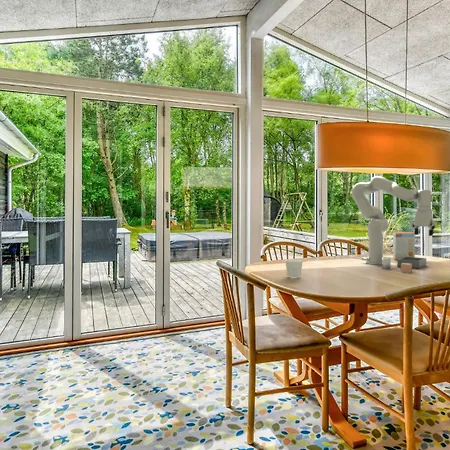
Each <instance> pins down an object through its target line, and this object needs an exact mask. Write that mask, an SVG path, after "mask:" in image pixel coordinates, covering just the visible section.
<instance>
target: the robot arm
mask: <svg viewBox="0 0 450 450" xmlns="http://www.w3.org/2000/svg"><path fill="white" fill-rule="evenodd" d="M378 191H382V192H384V193H386V194H389V195H391V196H393V197H395V198H396V199H397V198H398V199H400V200H403V201H405V202H417V207H416V206H415V207H416V208H415V209H416V211H415V216H414V220H412V221H411V222H410V224H411V226H412V228H413V229H414V233H415V236H418V235H419V230H420V229H419V227H428V228H429V230H428V236H429V237H433V236H434V230H435V229H436V228H437V226H438V222H437V221H436V220H433V211H432V208H431V205H432V191H431V190H430V189H419V190H417V189H408V188H406V187H402V186H401V185H398V184H397V183H396V182H395V181H392V180H390V179H387V178H386V177H384V176H381V175H380V176H379V175H376V176H373V177H372V178H371V179H370V181H368V182H358V183H356V184H355V185H353V187H352V190H351V196H352V198H353V201H354V202H355V204H356V206H357V209H358V210H359V211H360V213H361V215H362V217H363V218H364V219H365V220H370V221H368V224H367V232H368V255H367V257H361V260H362V261H365V263H366V264H369V265H377V266H378V265H379V266H381V265H382V258H384V256H383V255H384V235H383V233H384V232H385V231H387V230H388V229H389V221H388V220H387V218H386V217H385V215H384V214H383V212H382V210H381V209H380V208H379V207H377V206H376V205H372V204H371V202H370V201H369V200H368V198H367V196H366V195H370V194H373V193H375V192H378Z"/></svg>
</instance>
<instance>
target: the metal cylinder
mask: <svg viewBox="0 0 450 450" xmlns="http://www.w3.org/2000/svg"><path fill="white" fill-rule="evenodd" d="M391 261H392V260H391V257H383V258H382V264H381V265H382V266H381V267H382V270H391V265H392V264H391Z"/></svg>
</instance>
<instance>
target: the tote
mask: <svg viewBox="0 0 450 450" xmlns="http://www.w3.org/2000/svg"><path fill="white" fill-rule="evenodd" d="M396 263H397V264H396V265H397V267H398V268H401V264H402V263H409V264H412V269H414V270H415V269H417V270H420V269H422V268H424V267H426V266H427V258H426V257H417V256H415V257H403V258H400V259H397V260H396Z"/></svg>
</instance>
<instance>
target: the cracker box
mask: <svg viewBox="0 0 450 450" xmlns="http://www.w3.org/2000/svg"><path fill="white" fill-rule="evenodd" d="M392 235H393V237H392V238H393V239H392V240H393V242H392V244H393V245H392V254H393V255H392V257H393V258H392V259H393V260H395V261H397V259H400V258H403V257H416V256H415V254H416V253H415V249H416V248H415V246H416V241H415V239H416V235H415V233H414V232H413V231H409V232H408V231H397V232H395V231H394V232H392Z"/></svg>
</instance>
